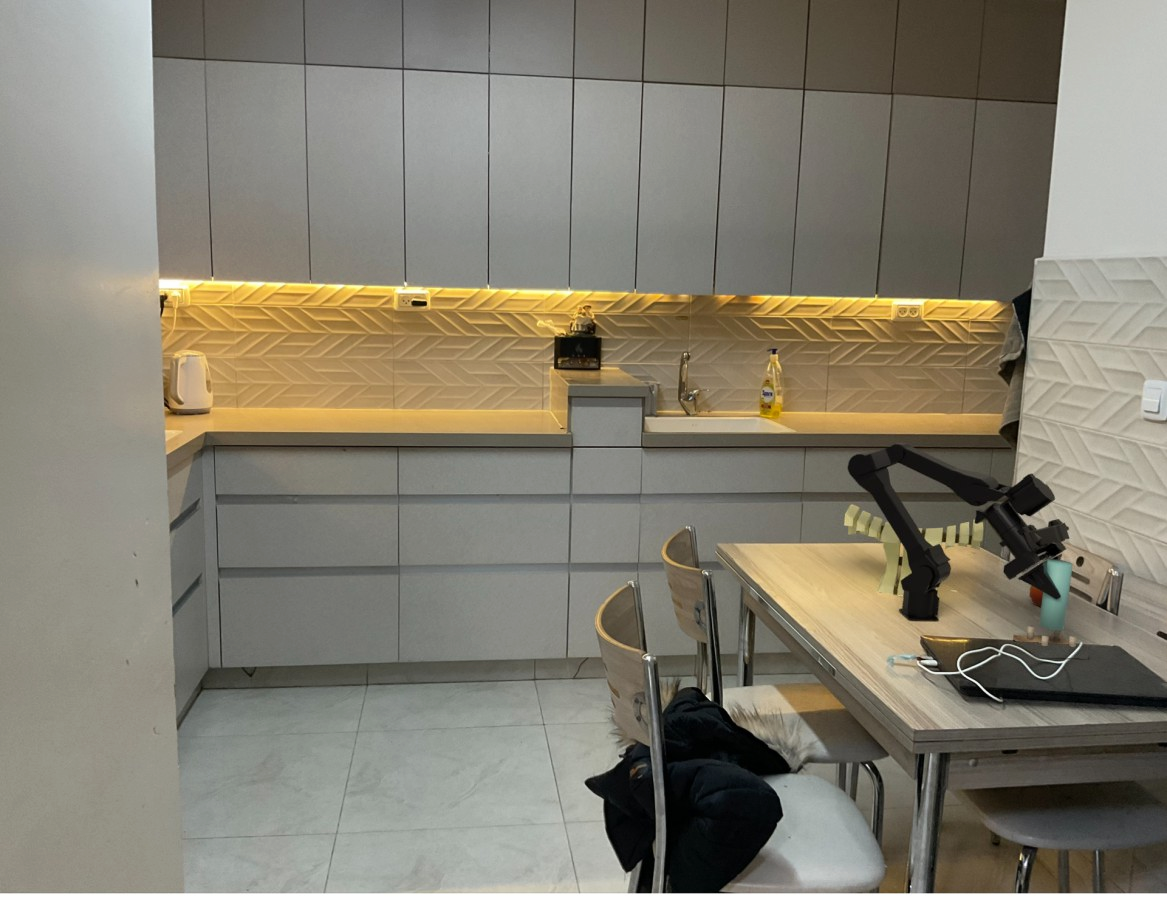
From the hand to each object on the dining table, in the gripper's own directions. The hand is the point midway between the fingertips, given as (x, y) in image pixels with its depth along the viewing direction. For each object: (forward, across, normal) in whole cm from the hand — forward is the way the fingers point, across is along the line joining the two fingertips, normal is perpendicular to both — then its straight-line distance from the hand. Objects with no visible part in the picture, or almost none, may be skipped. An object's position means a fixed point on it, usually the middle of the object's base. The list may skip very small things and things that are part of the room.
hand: (1063, 595), depth 189 cm
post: (+4, 0, +6) cm, 7 cm away
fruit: (0, +31, +17) cm, 35 cm away
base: (+7, 0, +9) cm, 11 cm away
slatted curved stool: (-20, +19, +37) cm, 46 cm away
